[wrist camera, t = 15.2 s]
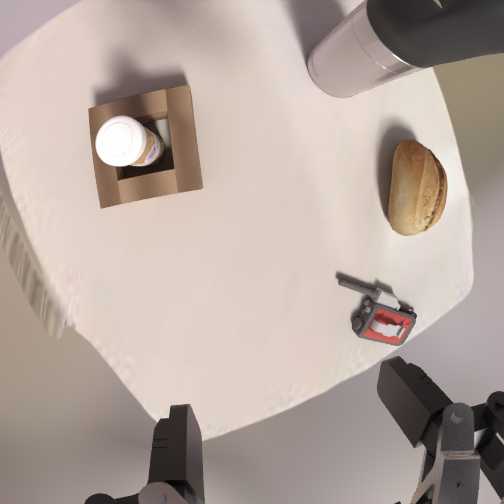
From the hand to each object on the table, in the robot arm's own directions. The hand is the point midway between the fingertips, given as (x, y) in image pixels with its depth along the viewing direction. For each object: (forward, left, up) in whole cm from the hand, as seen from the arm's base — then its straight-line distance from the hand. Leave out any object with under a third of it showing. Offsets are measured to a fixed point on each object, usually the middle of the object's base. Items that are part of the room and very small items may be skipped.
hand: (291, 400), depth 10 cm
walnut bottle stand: (+9, -13, -30) cm, 34 cm away
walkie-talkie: (-22, +17, -31) cm, 41 cm away
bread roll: (-28, -4, -30) cm, 41 cm away
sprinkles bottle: (+9, -13, -30) cm, 34 cm away
